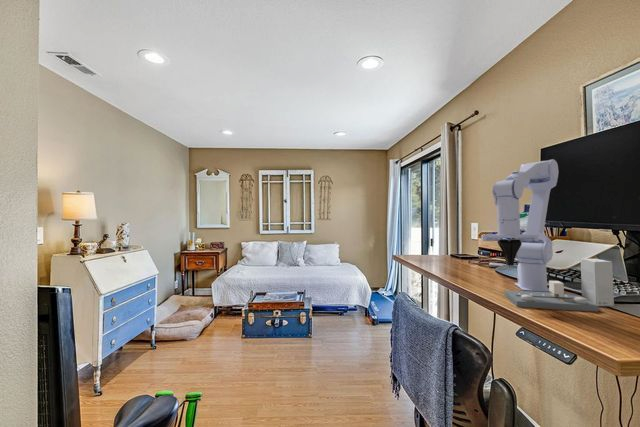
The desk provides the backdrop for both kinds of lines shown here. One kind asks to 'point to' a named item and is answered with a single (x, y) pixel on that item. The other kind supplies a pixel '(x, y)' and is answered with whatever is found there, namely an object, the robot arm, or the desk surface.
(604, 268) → the skincare box
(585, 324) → the desk surface
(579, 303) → the console
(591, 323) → the desk surface
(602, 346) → the desk surface
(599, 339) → the desk surface
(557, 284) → the fader tab
